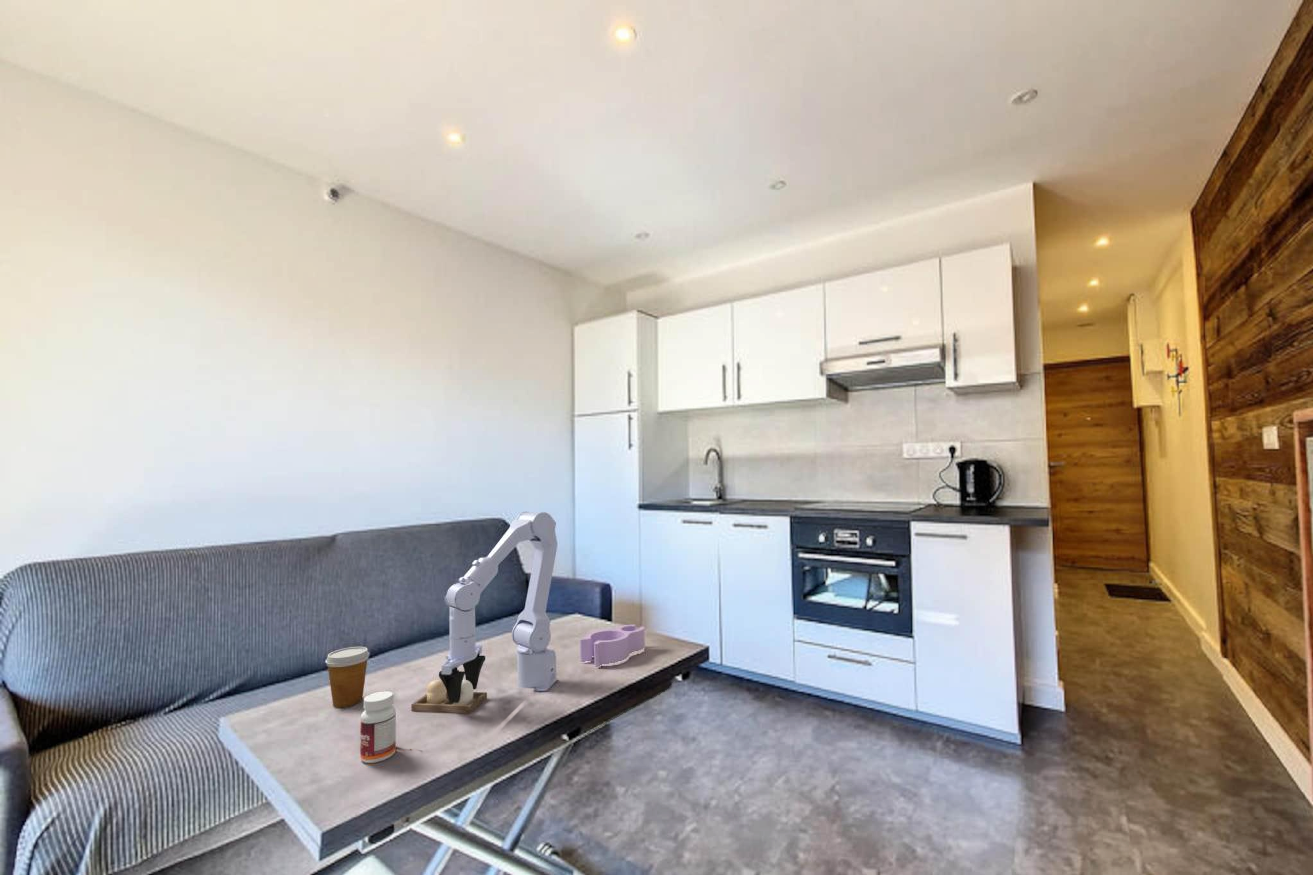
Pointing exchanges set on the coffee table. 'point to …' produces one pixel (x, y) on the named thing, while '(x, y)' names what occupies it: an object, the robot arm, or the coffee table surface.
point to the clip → (611, 644)
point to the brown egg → (436, 692)
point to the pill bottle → (378, 728)
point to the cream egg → (466, 693)
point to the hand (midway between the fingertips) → (463, 695)
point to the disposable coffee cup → (347, 675)
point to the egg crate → (449, 704)
